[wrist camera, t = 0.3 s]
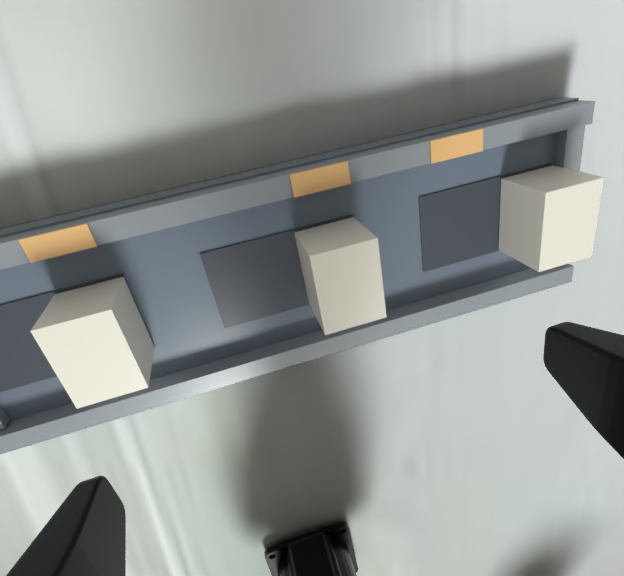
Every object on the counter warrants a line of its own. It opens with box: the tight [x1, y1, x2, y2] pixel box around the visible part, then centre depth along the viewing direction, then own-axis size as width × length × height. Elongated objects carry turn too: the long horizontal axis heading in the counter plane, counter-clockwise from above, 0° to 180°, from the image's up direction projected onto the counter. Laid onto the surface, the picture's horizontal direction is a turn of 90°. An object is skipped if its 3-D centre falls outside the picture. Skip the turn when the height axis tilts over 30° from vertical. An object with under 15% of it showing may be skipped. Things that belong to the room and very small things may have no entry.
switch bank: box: [0, 97, 595, 454], centre depth 21 cm, size 10×32×2 cm, turn 100°
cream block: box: [30, 277, 155, 409], centre depth 18 cm, size 4×3×3 cm
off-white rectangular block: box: [294, 217, 387, 335], centre depth 20 cm, size 4×3×3 cm
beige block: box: [499, 165, 604, 272], centre depth 21 cm, size 4×3×3 cm
